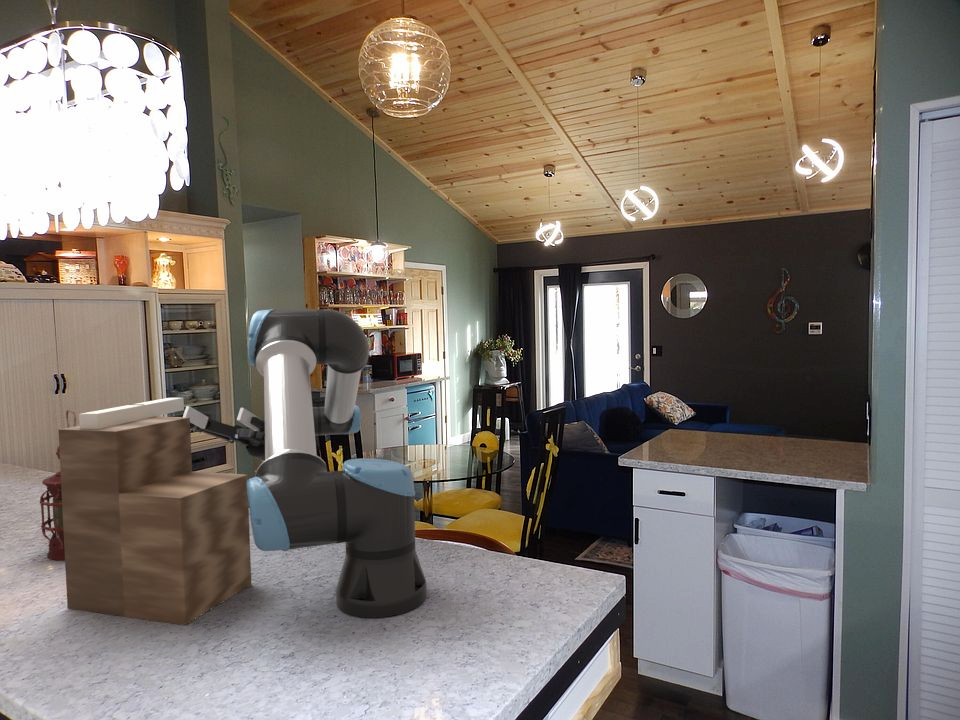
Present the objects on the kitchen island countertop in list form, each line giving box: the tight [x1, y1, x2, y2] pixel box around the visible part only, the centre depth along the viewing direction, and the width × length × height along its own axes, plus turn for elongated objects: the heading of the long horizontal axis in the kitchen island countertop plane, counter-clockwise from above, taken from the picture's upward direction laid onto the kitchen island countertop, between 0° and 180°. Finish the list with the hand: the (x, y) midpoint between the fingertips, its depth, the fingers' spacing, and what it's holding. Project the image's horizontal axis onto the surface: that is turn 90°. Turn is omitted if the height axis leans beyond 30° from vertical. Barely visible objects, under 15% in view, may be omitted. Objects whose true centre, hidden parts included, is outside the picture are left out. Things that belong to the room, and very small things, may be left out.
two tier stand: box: [57, 416, 252, 626], centre depth 107 cm, size 16×24×30 cm, turn 73°
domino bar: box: [78, 397, 185, 429], centre depth 114 cm, size 24×3×3 cm, turn 173°
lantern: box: [39, 409, 77, 561], centre depth 130 cm, size 12×12×30 cm
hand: (212, 412), depth 130 cm, fingers open, 13 cm apart
